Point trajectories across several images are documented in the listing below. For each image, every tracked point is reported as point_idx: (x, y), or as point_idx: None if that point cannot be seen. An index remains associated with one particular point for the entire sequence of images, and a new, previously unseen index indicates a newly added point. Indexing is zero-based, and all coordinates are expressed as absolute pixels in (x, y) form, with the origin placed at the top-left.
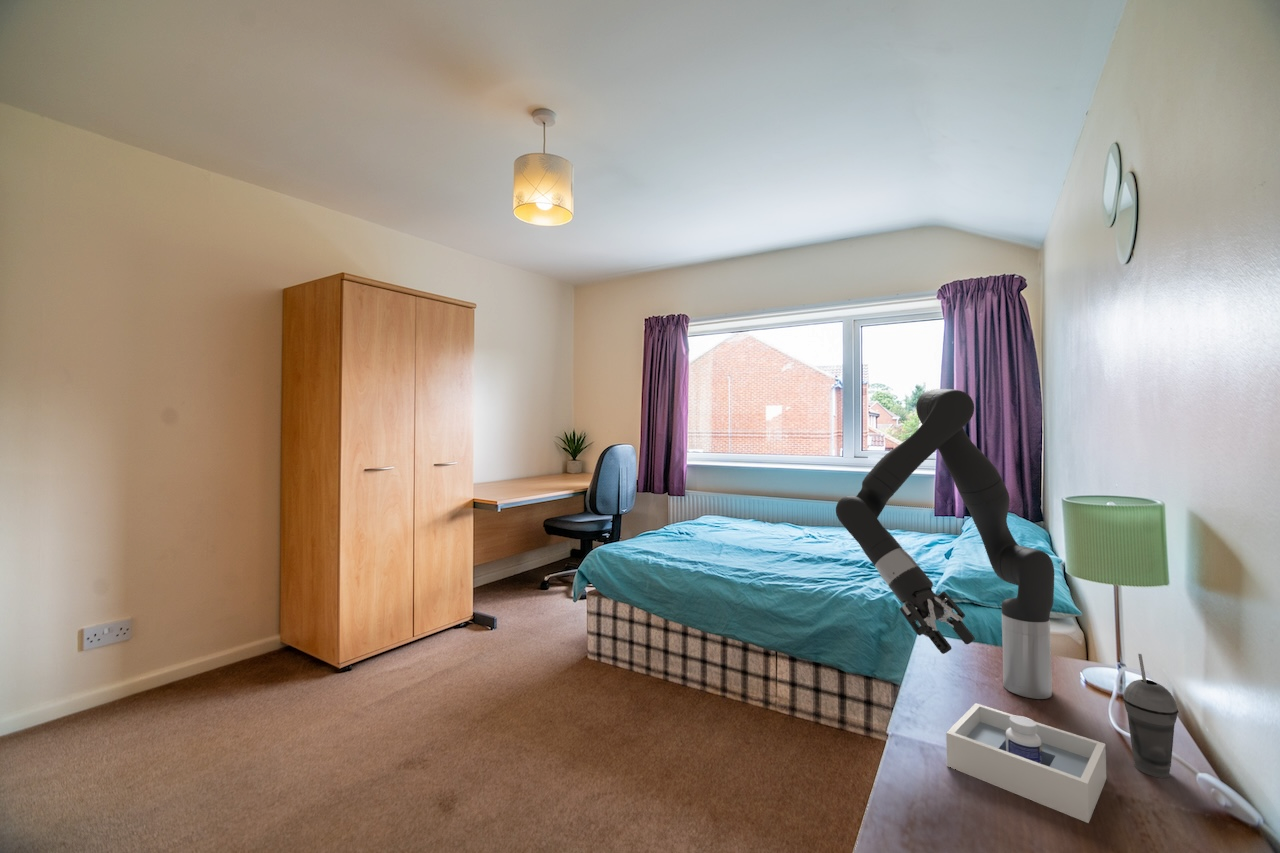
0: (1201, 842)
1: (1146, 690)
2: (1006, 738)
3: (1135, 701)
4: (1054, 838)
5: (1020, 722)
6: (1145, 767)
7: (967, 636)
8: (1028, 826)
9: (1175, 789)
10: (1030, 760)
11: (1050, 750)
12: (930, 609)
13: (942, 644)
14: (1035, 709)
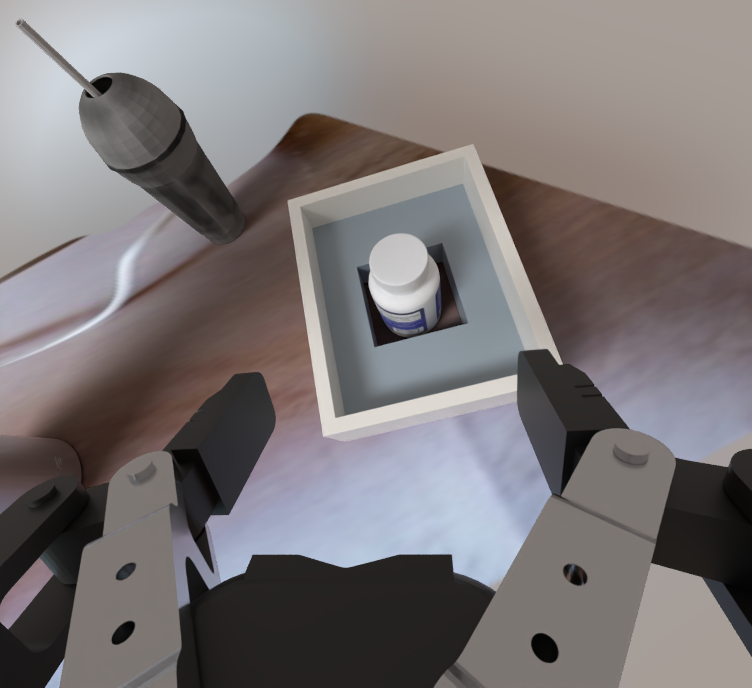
0: (374, 130)
1: (138, 88)
2: (429, 303)
3: (170, 127)
4: (558, 195)
5: (413, 255)
6: (240, 218)
7: (251, 405)
8: (570, 224)
9: (260, 191)
10: (492, 220)
11: (343, 281)
12: (570, 657)
13: (586, 376)
14: (129, 429)
